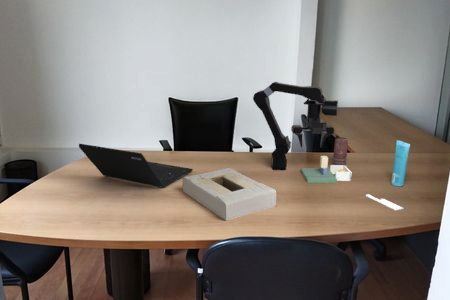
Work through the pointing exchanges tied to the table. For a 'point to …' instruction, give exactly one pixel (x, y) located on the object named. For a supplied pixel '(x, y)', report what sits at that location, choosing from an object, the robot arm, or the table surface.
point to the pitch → (318, 176)
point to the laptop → (132, 166)
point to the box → (229, 193)
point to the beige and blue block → (323, 164)
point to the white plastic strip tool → (385, 203)
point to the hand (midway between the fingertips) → (311, 147)
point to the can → (340, 151)
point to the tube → (400, 163)
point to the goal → (341, 175)
